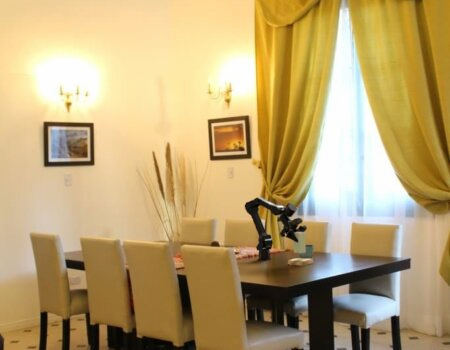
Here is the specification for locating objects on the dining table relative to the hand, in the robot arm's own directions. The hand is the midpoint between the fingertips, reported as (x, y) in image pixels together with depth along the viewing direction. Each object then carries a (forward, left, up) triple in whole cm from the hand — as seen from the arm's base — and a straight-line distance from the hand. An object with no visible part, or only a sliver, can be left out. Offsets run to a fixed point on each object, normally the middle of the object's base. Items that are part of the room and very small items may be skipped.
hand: (301, 241), depth 373 cm
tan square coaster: (-1, +1, -14) cm, 14 cm away
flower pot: (-5, +16, -14) cm, 21 cm away
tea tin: (-1, 0, -7) cm, 7 cm away
